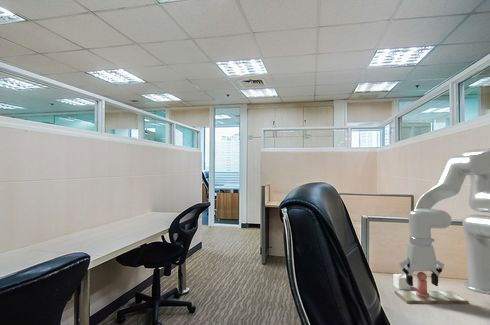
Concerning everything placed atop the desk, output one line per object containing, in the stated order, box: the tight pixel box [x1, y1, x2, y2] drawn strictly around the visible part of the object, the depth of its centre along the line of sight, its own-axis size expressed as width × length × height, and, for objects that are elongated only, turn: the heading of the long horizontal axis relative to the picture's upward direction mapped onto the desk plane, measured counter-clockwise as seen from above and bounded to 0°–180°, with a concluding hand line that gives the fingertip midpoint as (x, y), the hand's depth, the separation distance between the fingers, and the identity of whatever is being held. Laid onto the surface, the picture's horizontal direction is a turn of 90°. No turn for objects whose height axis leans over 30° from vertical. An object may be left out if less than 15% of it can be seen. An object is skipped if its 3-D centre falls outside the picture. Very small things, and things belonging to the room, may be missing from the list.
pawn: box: [415, 271, 429, 298], centre depth 117 cm, size 4×4×9 cm
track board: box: [394, 290, 469, 305], centre depth 117 cm, size 23×10×1 cm, turn 88°
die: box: [392, 273, 412, 290], centre depth 129 cm, size 5×5×5 cm
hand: (422, 284), depth 117 cm, fingers open, 9 cm apart
